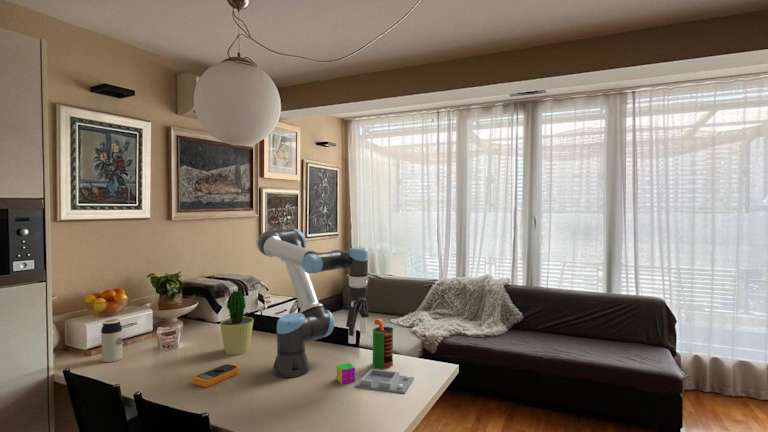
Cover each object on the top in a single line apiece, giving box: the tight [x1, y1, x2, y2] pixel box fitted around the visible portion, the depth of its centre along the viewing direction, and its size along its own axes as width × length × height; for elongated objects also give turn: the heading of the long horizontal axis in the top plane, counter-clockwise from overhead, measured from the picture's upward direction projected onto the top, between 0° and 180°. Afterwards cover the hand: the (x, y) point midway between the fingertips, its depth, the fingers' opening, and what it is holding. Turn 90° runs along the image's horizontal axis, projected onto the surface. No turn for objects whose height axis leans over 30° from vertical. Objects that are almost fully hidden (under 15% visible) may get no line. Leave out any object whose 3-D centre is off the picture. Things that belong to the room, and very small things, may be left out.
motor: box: [372, 318, 394, 370], centre depth 188 cm, size 10×9×20 cm
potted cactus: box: [219, 290, 255, 356], centre depth 207 cm, size 15×15×30 cm
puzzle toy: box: [335, 362, 356, 385], centre depth 172 cm, size 6×6×6 cm
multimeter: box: [192, 363, 240, 389], centre depth 175 cm, size 9×18×3 cm, turn 151°
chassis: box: [354, 368, 415, 394], centre depth 169 cm, size 20×14×3 cm
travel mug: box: [100, 318, 123, 363], centre depth 197 cm, size 8×8×18 cm
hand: (357, 338), depth 174 cm, fingers open, 13 cm apart
